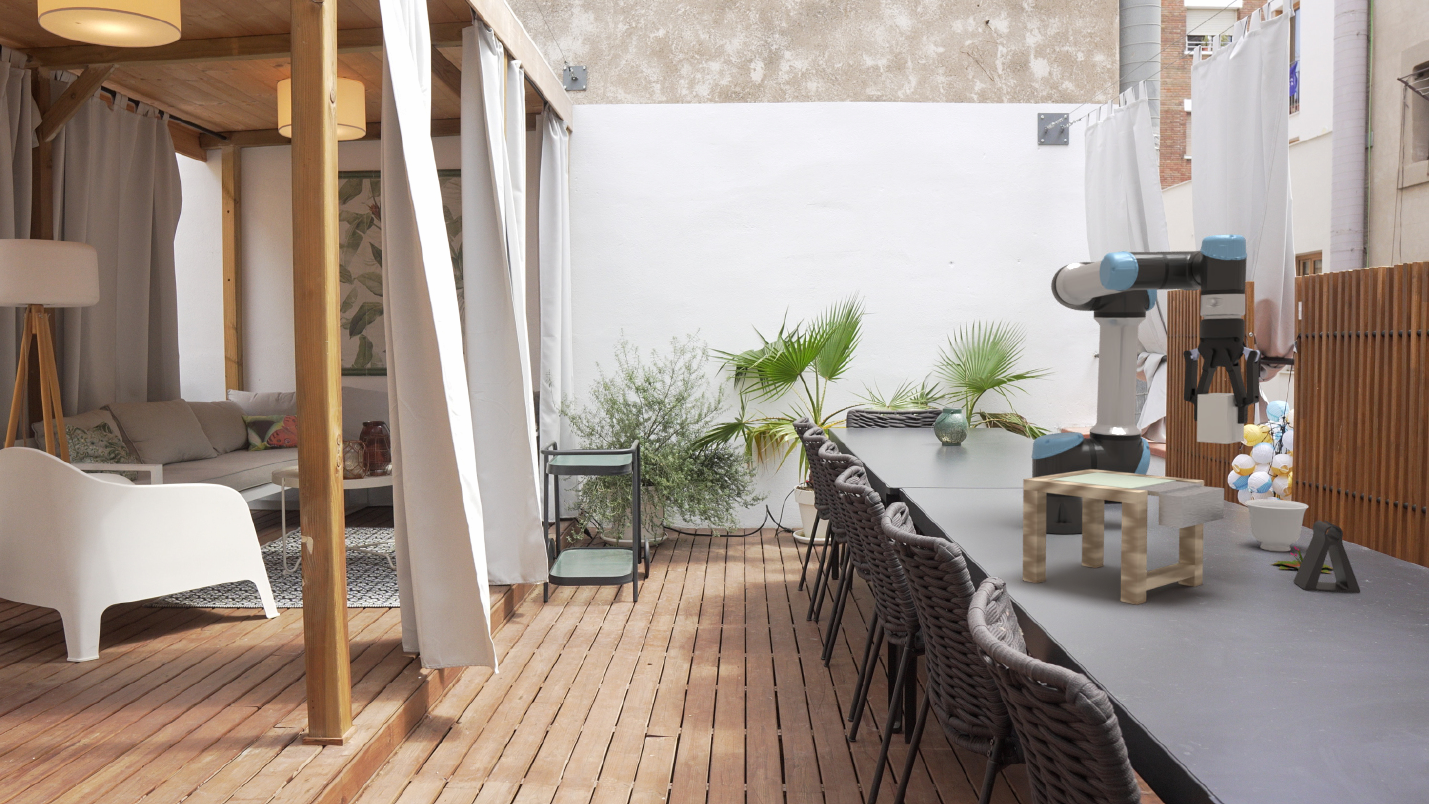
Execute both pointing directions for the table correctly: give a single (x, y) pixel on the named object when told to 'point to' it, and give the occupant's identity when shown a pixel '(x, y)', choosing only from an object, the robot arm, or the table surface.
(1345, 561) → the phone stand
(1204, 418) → the white rectangular block
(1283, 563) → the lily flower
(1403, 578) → the table surface
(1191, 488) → the trapdoor
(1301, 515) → the teacup
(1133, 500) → the trapdoor frame
